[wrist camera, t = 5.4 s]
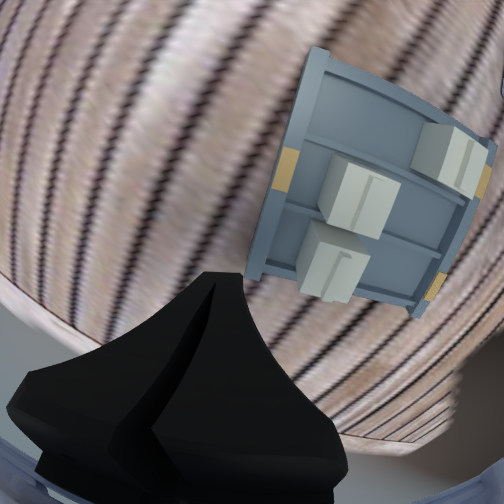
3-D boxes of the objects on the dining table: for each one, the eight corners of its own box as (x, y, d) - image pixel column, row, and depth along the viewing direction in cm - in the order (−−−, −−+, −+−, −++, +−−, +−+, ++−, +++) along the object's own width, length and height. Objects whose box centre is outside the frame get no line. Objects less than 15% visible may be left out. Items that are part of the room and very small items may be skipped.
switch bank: (479, 140, 14) (499, 146, 12) (409, 302, 21) (420, 320, 19) (307, 54, 14) (312, 44, 11) (246, 261, 20) (243, 279, 18)
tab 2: (354, 231, 17) (374, 261, 14) (336, 272, 19) (349, 309, 15) (311, 217, 17) (321, 246, 14) (295, 262, 19) (299, 298, 15)
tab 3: (457, 141, 14) (495, 152, 10) (442, 184, 15) (478, 203, 12) (424, 122, 14) (460, 127, 10) (409, 167, 15) (443, 183, 12)
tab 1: (377, 170, 16) (406, 186, 12) (360, 217, 17) (381, 244, 13) (333, 153, 15) (352, 164, 12) (316, 202, 17) (329, 228, 13)
